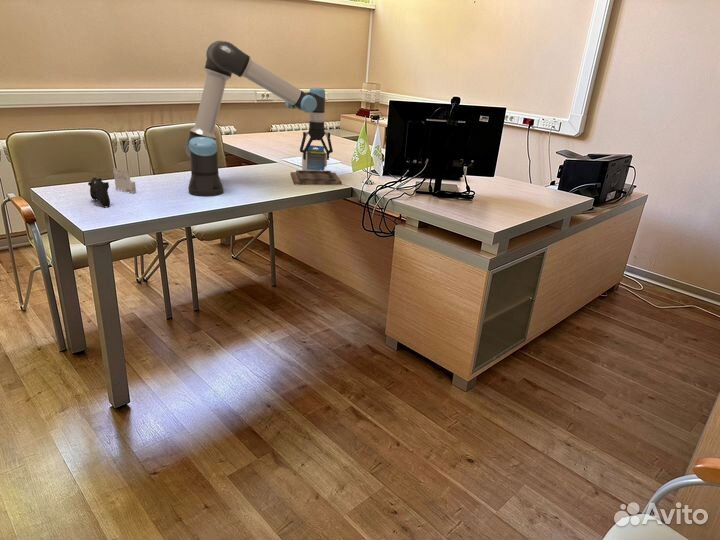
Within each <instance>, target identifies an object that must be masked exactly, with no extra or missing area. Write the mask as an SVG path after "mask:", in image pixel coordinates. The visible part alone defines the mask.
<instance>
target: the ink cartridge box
mask: <svg viewBox="0 0 720 540" xmlns="http://www.w3.org/2000/svg"><path fill="white" fill-rule="evenodd" d="M112 171H113V176H114V185H115V190H116V189H119V190H118V191H120V190H122V191H121V192H124V191H125V192H124V193H127V192H129V193H128V194H131V193H133V194H136V193H137V190H136V181H135V180H131V175H130V171H128V170H124V169H120V168H115V167H112ZM120 172H121V173H120ZM122 173H123V174H122Z"/></svg>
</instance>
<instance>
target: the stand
mask: <svg viewBox="0 0 720 540" xmlns="http://www.w3.org/2000/svg"><path fill="white" fill-rule="evenodd" d="M290 177H291V180H292V183H293V185H294V184H298V185H297V186H299V185H303V186H304V185H305V186H307V185H309V186H310V185H311V186H314V185H315V186H320V185H321V186H342V185H343V182H342V180H341V179H340V178H339V176H338V174H337V173H336V172H332V170H320V171H303V170H302V169H301V170H300V169H299V170H296V171H290Z"/></svg>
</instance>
